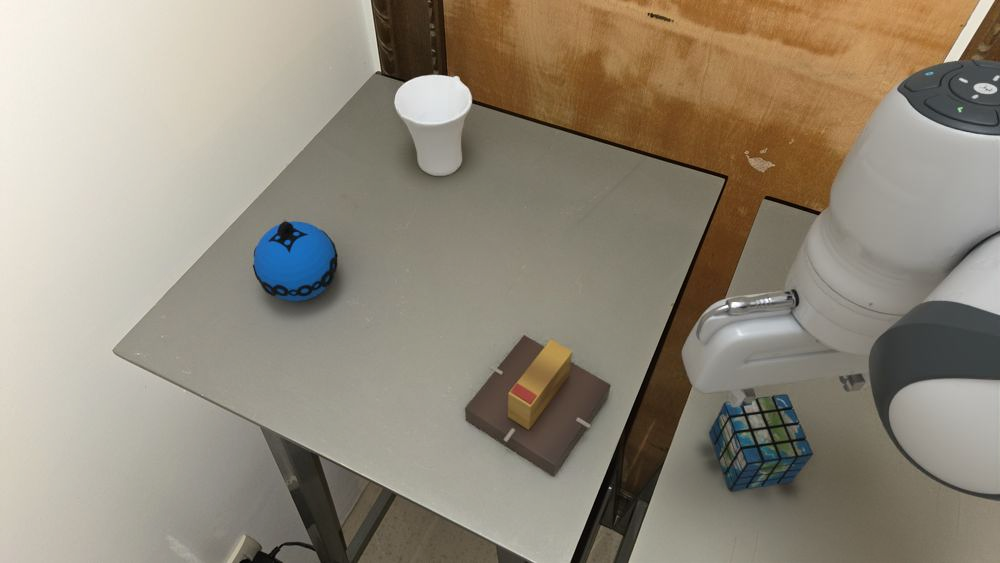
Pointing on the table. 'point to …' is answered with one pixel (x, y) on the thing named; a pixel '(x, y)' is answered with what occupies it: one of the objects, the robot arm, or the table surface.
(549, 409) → the stamp base
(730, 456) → the puzzle
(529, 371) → the stamp
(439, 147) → the cup
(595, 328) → the table surface
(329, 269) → the ornament
